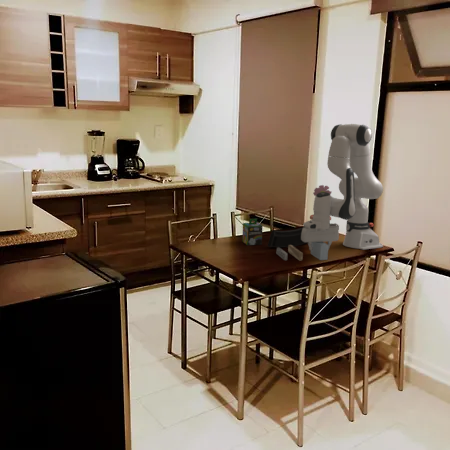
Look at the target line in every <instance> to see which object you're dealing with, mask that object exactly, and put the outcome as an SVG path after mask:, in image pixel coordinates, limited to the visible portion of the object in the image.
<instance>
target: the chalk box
mask: <svg viewBox="0 0 450 450" xmlns="http://www.w3.org/2000/svg"><path fill="white" fill-rule="evenodd" d="M242 243H244V244H245V245H246V246H260V245H263V225H262V224H261V223H260V222H258V218H249V221H248V222H243V223H242Z"/></svg>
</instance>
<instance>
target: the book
mask: <svg viewBox="0 0 450 450" xmlns="http://www.w3.org/2000/svg"><path fill="white" fill-rule="evenodd" d="M311 246H312V247H313V250H310V255H312V256H313V257H315V258H316V259H318V260H319V261H325V260H326V261H328V257H329V256H328V255H329V249H328V243H326V242H312V244H311Z"/></svg>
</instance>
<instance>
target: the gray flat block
mask: <svg viewBox="0 0 450 450" xmlns="http://www.w3.org/2000/svg"><path fill="white" fill-rule="evenodd" d="M275 253H276V255H277V256H278V257H280V258H281V259H282V260H283V261H288V254H289V253H288V252H286V251H285V250H284V249H282V247H276V252H275Z"/></svg>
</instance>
